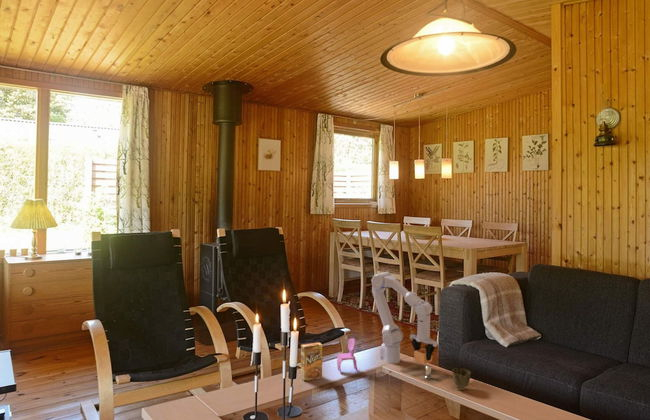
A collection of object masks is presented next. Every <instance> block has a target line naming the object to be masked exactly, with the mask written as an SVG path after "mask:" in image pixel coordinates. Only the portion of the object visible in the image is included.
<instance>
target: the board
mask: <svg viewBox="0 0 650 420" xmlns="http://www.w3.org/2000/svg"><path fill="white" fill-rule="evenodd" d="M426 366H427V365H425V364H422V363H416V364H412V365H410V366H407V367H404V368H401V369H399V370H397V371H399V372H401V373H404V374H406V375H408V376H411V377H414V378H417V379H419V380H421V381H423V382H425V383H428V384H431V385H436V384H439V383H440V382H443V381H445V380H448V379H450V378H453V375H452V374H451V375H450V374H449V373H445V372H442V371H440V370H437V369H435V368H432V367H431V376H432V379H425V378H424V376H425V375H426Z"/></svg>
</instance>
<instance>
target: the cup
mask: <svg viewBox="0 0 650 420" xmlns="http://www.w3.org/2000/svg"><path fill="white" fill-rule="evenodd" d="M451 371H452V376H453V377H452V378H453V383H454V384H455V385H456V389H457V390H458V391H463V392H464V391H466V389H467V387H468V386H469V385H470V380H471V373H472V372H471V370H469V369H467V368H466V367H464V368H462V367H460V368H459V369H458V367H454V368H453V369H452V370H451Z"/></svg>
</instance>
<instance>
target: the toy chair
mask: <svg viewBox="0 0 650 420" xmlns="http://www.w3.org/2000/svg"><path fill="white" fill-rule="evenodd" d="M355 344H356V339H355V338H352V337H351V338H349V339H348V344H347V349H348V351H349V352H346V353H345V352H344V353H337V354H338V355H337V359H336V366H337V370H338V372H339V371H340V372H339V373H340V374H341V373H342V369H341V364H342V362H344V361H347V360H348V361H350V360H352V362H353V368H354V370H355V372H356V373H357V374H359V370H358V366H357V359H356V357H355V347H356V345H355Z"/></svg>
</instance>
